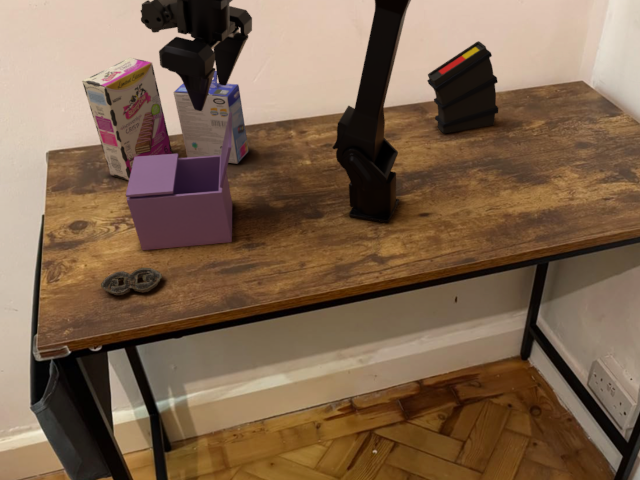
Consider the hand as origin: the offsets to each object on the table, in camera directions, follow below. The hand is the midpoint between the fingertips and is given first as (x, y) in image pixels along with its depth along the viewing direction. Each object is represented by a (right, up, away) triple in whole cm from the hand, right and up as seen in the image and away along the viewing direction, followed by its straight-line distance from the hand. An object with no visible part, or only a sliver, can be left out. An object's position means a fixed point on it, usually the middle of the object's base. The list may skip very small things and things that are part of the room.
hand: (211, 96), depth 98 cm
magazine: (+40, +4, +28) cm, 49 cm away
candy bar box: (-17, -5, +18) cm, 25 cm away
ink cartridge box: (-4, -3, +21) cm, 21 cm away
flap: (+3, -9, -3) cm, 10 cm away
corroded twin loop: (-9, -29, -6) cm, 31 cm away
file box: (-4, -18, +4) cm, 19 cm away
